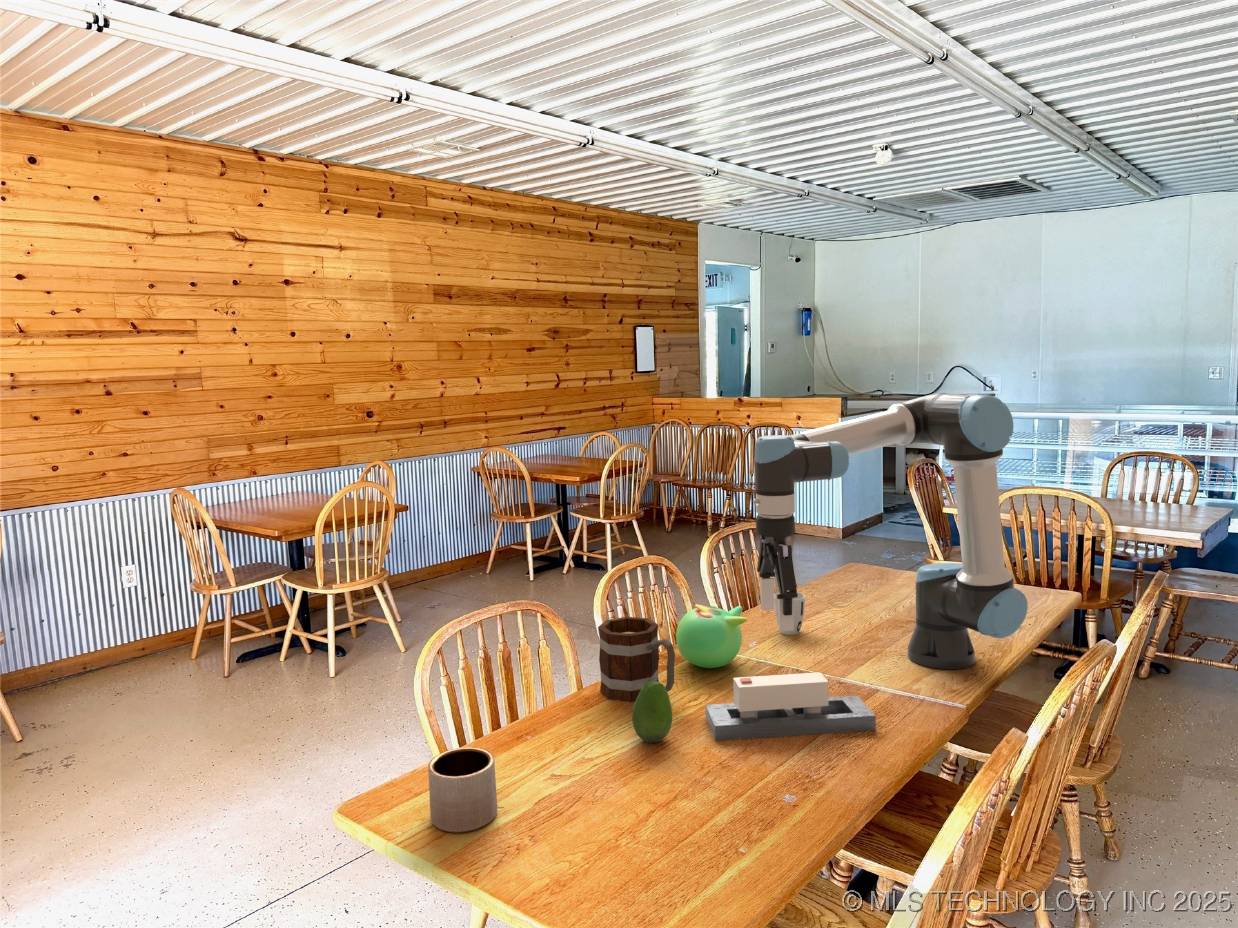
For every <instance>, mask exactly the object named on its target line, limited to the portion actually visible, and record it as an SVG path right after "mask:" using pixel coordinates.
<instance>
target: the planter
mask: <svg viewBox="0 0 1238 928" xmlns="http://www.w3.org/2000/svg"><path fill="white" fill-rule="evenodd" d="M427 766H428V767H427V768H428V769H427V770H428V790H429V791H428V792H429V810H430V811H429V814H430V815H429V816H430V820H431V823H432V824H433V826H434V827H436V828H437V829H439V830H441V831H444V832H446V833H452V834H463V833H469V832H473V831H476V830H479V829H481V828H483V827H485V826H487V825H488V824H489V823H491V822H492V820H494V819H495V817H496V816H497V814H498V797H497V781H496V768H495V767H496V765H495V755H493V753H492V752H490V751H489V750H486V749H484V748H481V747H471V746H470V747H469V746H466V747H457V748H452V749H448V750H446V751H442V752H441V753H439V754H437V755H435V756H434V757H433V758H432V759H430V761H429V763H428V765H427Z"/></svg>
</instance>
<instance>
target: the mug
mask: <svg viewBox="0 0 1238 928" xmlns="http://www.w3.org/2000/svg"><path fill="white" fill-rule="evenodd" d="M597 630H598V636H599V657H598V658H599V659H598V660H599V668H600V669H599V670H600V686H599V687H600V689H599V692H600V693H601V694H602V695H603V696H604V697H606V698H607V699H608V700H609V701H618V702H623V703H624V702H625V703H635V701H636V699H637V697H638V695H639V693H640V690H641V689H642V687H643V685H644V684H646V683H647V682H650V681H658V682H660V679H659V661H660V660H659V659H660V654H659V652H660V651H659V647H661V646H663V647H665V649H666V653H667V662H666V685H665V688H666V690H667V692H669V691H671V690H672V689H673V687H674V683H675V662H676V660H675V659H676V653H675V649H674V646H673V643H672V642H670V641H669V640H668V639H666V638H664V639H658V634H659V624H658V623H657V622H655V621H653V620H652V619H650V618H648V617H647V618H646V617H636V616H635V617H634V616H623V617H617V618H610V619H606V620H604V621H603V622H601V624H599V626H598V627H597Z"/></svg>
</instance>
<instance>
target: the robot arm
mask: <svg viewBox="0 0 1238 928" xmlns="http://www.w3.org/2000/svg"><path fill="white" fill-rule="evenodd" d="M1009 408H1010V407H1008V406H1007V404H1006V403H1004V402H1003V401H1002V400H1001V399H1000V398H998V397H996V396H993V395H985V394H982V393H951V392H950V393H948V392H938V393H932V394H931V393H930V394H927V395H924V396H920V397H919V396H918V397H916V398H913V399H910V400H909V399H908V400H905V401H902V402H898V403H894V404H892V405H890V406H889V407H888V408H887V410H884V411H881V412H877V413H874V414H869V415H866V416H861V417H858V418H854V419H849V420H846V421H840V422H838V423H834V424H830V425H826V426H822V427H817V428H813V429H809V430H805V431H800V432H798V433H794V434H790V435H787V434H786V435H784V434H777V435H775V434H774V435H770V434H769V435H762V436H759V437H758V438H757V439H756V440H755V447H754V458H753V460H754V479H755V481H754V483H755V498H754V499H752V503H753V504H754V505H755V512H756V514H757V515H756V517H755V533H756V534H757V535H758V536H759V537H760V544H759V550H758V551H759V552H758V557H757V558H758V559H757V565H756V566H757V567H756V570H757V573H758V575H759V578H760V579H759V580H760V581H759V582H760V584H759V586H760V610H761V611H768V610H775V603H774V594H775V578H774V577H776V582H777V586H778V593H779V592H780V595H777V599H778V603H779V627H778V631H779V632H780V631H794V602H793V598H795V597H797V596H798V594H797V592H798V590H797V584H796V583H797V582H796V575H795V569H794V568H795V567H794V563H793V562H794V560H793V547H792V545H791V544H789V545H788V544H787V541H786V538H787V537H791V536H793V535H794V534H796V533H795V532H796V524H795V523H796V518H795V515H794V513H795V512H796V493H795V486H796V485H795V484H797V483H802V482H814V481H823V480H826V481H830V480H834V479H838V478H841V477H843V476H845V475H846V473H847V471H848V470H849V467H850V466H849V465H850V456H853V455H856V454H857V455H858V454H861V453H864V452H868V451H872V450H876V449H879V448H884V447H886V446H890V445H894V444H896V445H898V446H901V447H902V446H904V447H905V446H908V445H912V444H932V445H938V446H943V452H944V460H946V461H947V462H948V463H949V464H951V465H952V467H953V468H952V469H953V476H954V477H953V478H954V488H955V490H954V491H955V499H956V501H955V502H956V510H957V519H958V520H957V521H958V531H959V544H960V552H961V553H960V554H961V563H958V562H957V563H956V562H953V563H952V562H945V563H944V562H938V563H930V564H924V565H922V566H920V567H919V568H918V569H917V571H916V581H915V626H914V629H913V632H912V634H911V637H910V639H909V641H908V645H907V657H908V659H909V660H910V661H911V662H914V663H915V664H918V665H920V666H924V667H927V668H934V669H941V670H961V669H966V668H969V667H971V666H973V665H975V661H976V660H975V659H976V657H975V656H976V652H975V649H974V644H973V642H972V639H971V636H970V633H969V630H968V629H970V630H972V631H975V632H977V633H980V635H982V636H986V637H987V636H988V637H991V638H996V639H1005V638H1008V637H1010V636H1012V635H1013V634H1015V633H1016V632H1017V631H1018V630H1019V629H1020V627H1021V626H1022V624H1023V623H1024V622H1025V619H1026V617H1027V613H1028V607H1029V605H1028V599H1027V596H1026V595H1025V594H1024V593H1023V592H1022V591H1021V590H1020V589H1018V588H1016V587H1015V584H1014V574H1013V572H1012V571H1011V570H1009V569H1008V568H1007V567H1006V566H1005V555H1004V554H1005V553H1004V543H1003V541H1004V540H1003V531H1002V530H1003V529H1002V520H1001V507H1000V496H999V495H1000V494H999V485H998V484H999V482H998V474H997V473H998V471H997V462H998V461H999V459H1001V458H1002V457H1003V456H1004V448H1005V447H1007V445H1008V444H1009V443H1010V442H1011V438H1010V437H1013V433H1014V419H1013V415H1012V413H1011V410H1010V409H1009Z"/></svg>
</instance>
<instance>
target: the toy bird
mask: <svg viewBox="0 0 1238 928" xmlns="http://www.w3.org/2000/svg"><path fill="white" fill-rule="evenodd" d="M694 607H695V608H692V609H691V610H689V611H688V612H687V613H685V614H684V615H683V617H681V619H680V620H679V623H678V626H677V629H676V635H675V638H676V639H675V640H676V642H675V643H676V645H677V648H678V651H679V653H680V654H681V656H682V657H683V658H684V659H685V660H686V661H688V663H691V664H692V665H695V666H698V667H700V668H704V669H705V668H706V669H715V668H720V667H723V666H726V665H728V664H729V663H731V662H733V660H734V659H735V658H736V657H737V656H738V654H739V652H740V649H741V646H742V642H743V636H742V629H741V626H740V625H742V624H745V623H746V622H747V621H748V618H746V617H745V616H741V615H742V612H743V607H742V606H741V605H738V606H735V607H733V608H732V609H730V610H728V611H727V610H725V609H722V608H719V607H716V606H712V605H710V606H706V605H701V604H695V605H694Z"/></svg>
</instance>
